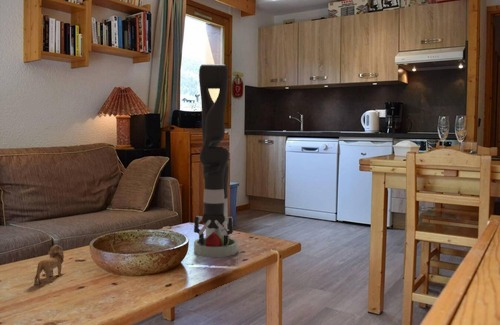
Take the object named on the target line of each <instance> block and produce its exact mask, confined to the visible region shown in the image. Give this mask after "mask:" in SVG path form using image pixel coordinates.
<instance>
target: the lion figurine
mask: <svg viewBox="0 0 500 325" xmlns="http://www.w3.org/2000/svg"><path fill="white" fill-rule="evenodd" d="M49 249H50V250H49V251H48V255H49V258H46V259H42V260H40V261H39V262H38V264H37V267H36V268H37V269H36V274H35V276H34V280H33V281H34V283H33V285H38V286H41V285H42V282H41V278H40V277H41V276H40V275H41V274H42V272H43V271H44V273H45V279H46V281H47V282H48V283H51V282H53V281H54V279H51V278H50V277H53V276H54V269H56V268H57V276H58V277H59V276H63V273H62V266H63V265H62V264H63V263H64V262H65V261H64V257H65V255H64V249H63V247H62V246H60V245H58V244H55V245H52V246H51V247H50V248H49Z"/></svg>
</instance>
